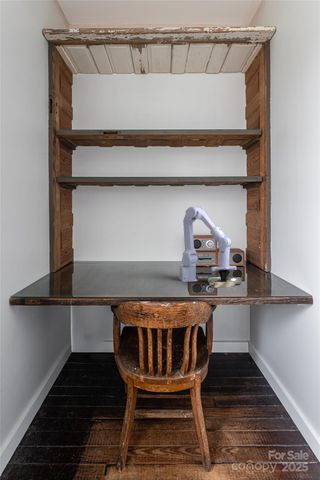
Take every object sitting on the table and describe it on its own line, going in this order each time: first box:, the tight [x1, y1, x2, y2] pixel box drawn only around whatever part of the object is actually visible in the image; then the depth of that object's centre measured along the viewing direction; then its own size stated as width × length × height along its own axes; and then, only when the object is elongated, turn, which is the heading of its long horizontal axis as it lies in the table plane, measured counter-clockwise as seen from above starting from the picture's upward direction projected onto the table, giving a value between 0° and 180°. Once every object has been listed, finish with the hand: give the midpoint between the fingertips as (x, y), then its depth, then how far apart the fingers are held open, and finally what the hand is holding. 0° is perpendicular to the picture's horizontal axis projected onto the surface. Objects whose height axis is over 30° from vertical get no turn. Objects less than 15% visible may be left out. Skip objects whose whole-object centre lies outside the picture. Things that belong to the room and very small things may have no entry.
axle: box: [226, 276, 242, 286], centre depth 177 cm, size 9×4×4 cm, turn 105°
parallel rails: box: [208, 280, 236, 289], centre depth 175 cm, size 12×7×2 cm, turn 106°
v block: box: [207, 276, 221, 283], centre depth 182 cm, size 8×5×2 cm, turn 106°
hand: (223, 282), depth 175 cm, fingers closed
